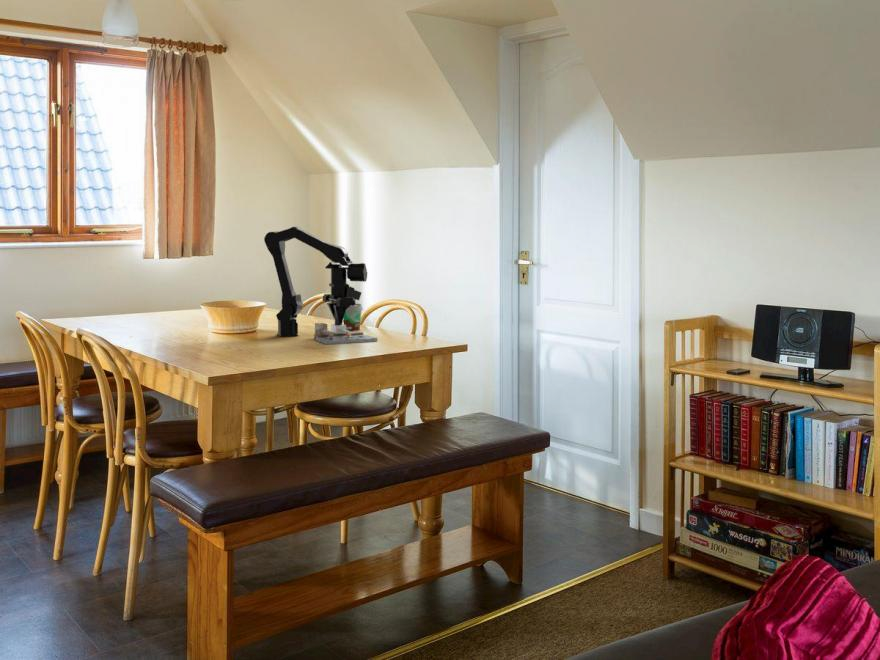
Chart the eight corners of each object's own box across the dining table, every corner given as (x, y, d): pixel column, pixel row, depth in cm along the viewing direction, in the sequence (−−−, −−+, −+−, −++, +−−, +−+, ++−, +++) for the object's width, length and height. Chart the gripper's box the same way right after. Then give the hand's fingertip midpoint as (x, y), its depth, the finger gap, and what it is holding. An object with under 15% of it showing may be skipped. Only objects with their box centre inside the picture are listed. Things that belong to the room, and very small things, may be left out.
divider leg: (344, 337, 329) (344, 314, 328) (331, 332, 340) (331, 310, 339) (354, 336, 331) (354, 314, 330) (341, 332, 342) (341, 310, 341)
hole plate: (325, 344, 321) (325, 340, 321) (315, 340, 330) (315, 337, 330) (377, 341, 330) (377, 337, 330) (366, 337, 339) (366, 334, 339)
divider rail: (326, 342, 326) (326, 327, 325) (313, 337, 337) (313, 323, 337) (372, 339, 334) (372, 324, 334) (358, 335, 346) (358, 320, 345)
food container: (357, 332, 355) (357, 306, 354) (342, 331, 356) (342, 306, 355) (366, 328, 367) (366, 303, 366) (352, 327, 368) (351, 303, 367)
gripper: (368, 282, 332) (368, 324, 334) (349, 278, 349) (349, 319, 351) (340, 283, 327) (340, 326, 329) (322, 279, 343) (322, 320, 345)
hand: (338, 322), depth 339 cm, fingers closed on divider leg, 3 cm apart
